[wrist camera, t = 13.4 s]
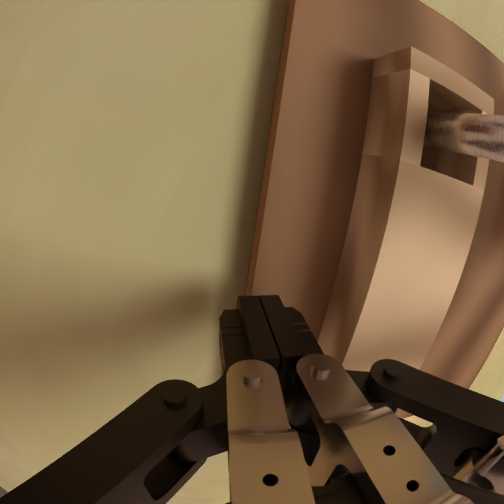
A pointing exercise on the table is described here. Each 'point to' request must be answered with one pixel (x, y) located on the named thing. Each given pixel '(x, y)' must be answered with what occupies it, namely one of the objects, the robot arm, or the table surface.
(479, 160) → the birch link
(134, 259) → the table surface
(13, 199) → the table surface
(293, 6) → the wooden latch panel
